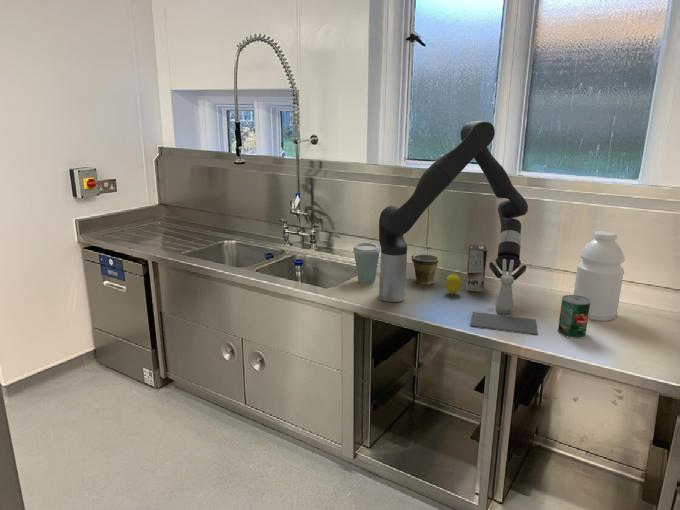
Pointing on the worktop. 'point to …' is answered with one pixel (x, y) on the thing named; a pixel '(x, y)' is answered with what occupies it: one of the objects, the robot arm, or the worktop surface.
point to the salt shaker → (505, 295)
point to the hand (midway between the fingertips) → (505, 289)
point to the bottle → (600, 275)
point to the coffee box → (476, 267)
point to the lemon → (453, 283)
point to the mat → (504, 323)
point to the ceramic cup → (425, 268)
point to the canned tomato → (574, 316)
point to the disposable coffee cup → (366, 261)
